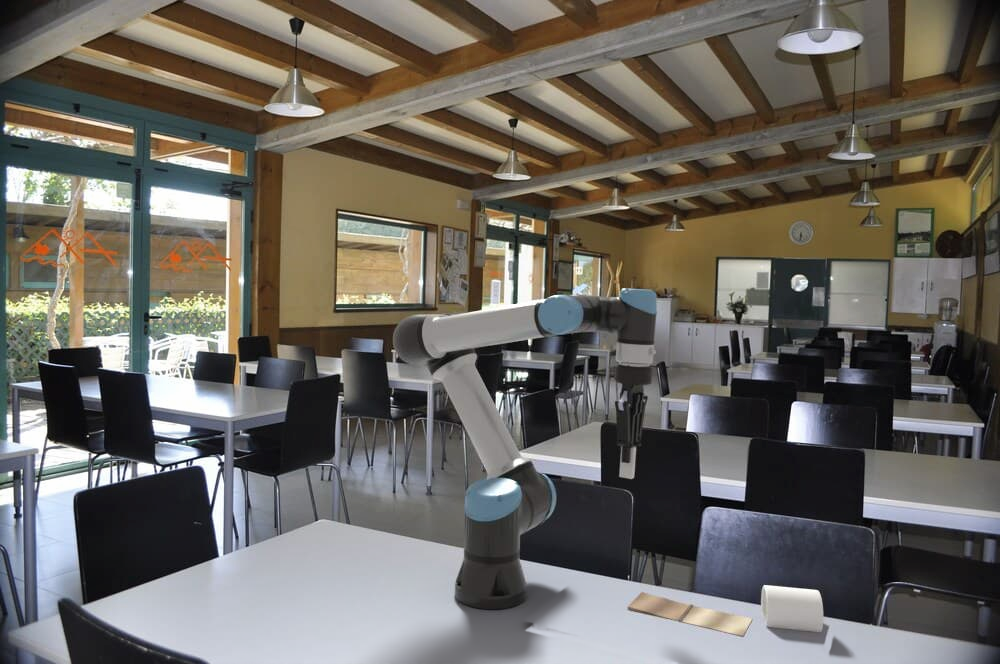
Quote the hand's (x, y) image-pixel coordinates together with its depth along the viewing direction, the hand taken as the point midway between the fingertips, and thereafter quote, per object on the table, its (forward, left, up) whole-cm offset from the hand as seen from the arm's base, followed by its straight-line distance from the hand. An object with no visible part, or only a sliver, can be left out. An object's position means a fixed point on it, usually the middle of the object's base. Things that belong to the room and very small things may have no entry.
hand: (626, 477), depth 155 cm
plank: (+9, -3, -25) cm, 27 cm away
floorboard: (+20, -3, -26) cm, 33 cm away
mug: (+32, +6, -26) cm, 42 cm away
